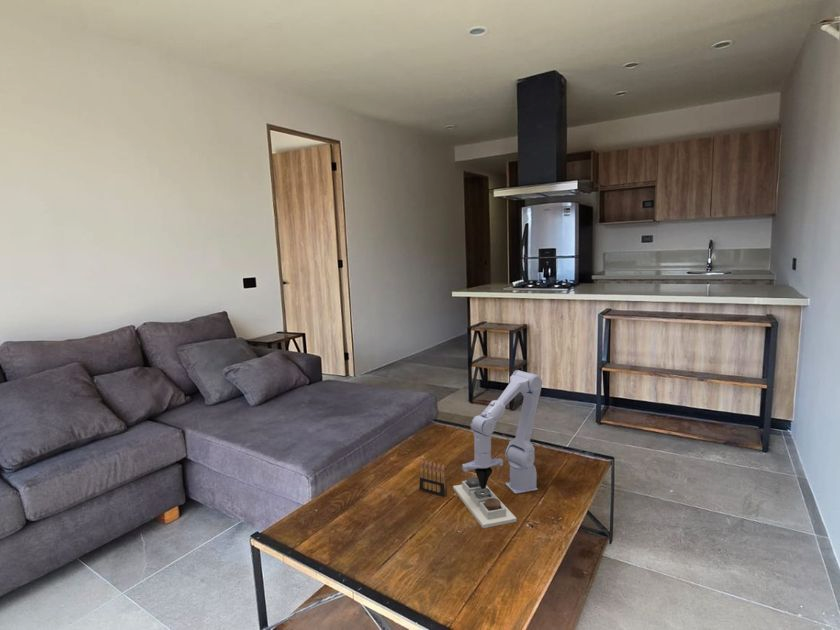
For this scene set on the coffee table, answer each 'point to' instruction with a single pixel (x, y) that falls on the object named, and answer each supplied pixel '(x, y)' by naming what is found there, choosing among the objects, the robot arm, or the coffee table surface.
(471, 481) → the knob graphite
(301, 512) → the coffee table surface
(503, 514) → the mount board
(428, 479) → the ammunition clip
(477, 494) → the knob steel
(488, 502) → the knob walnut
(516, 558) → the coffee table surface
